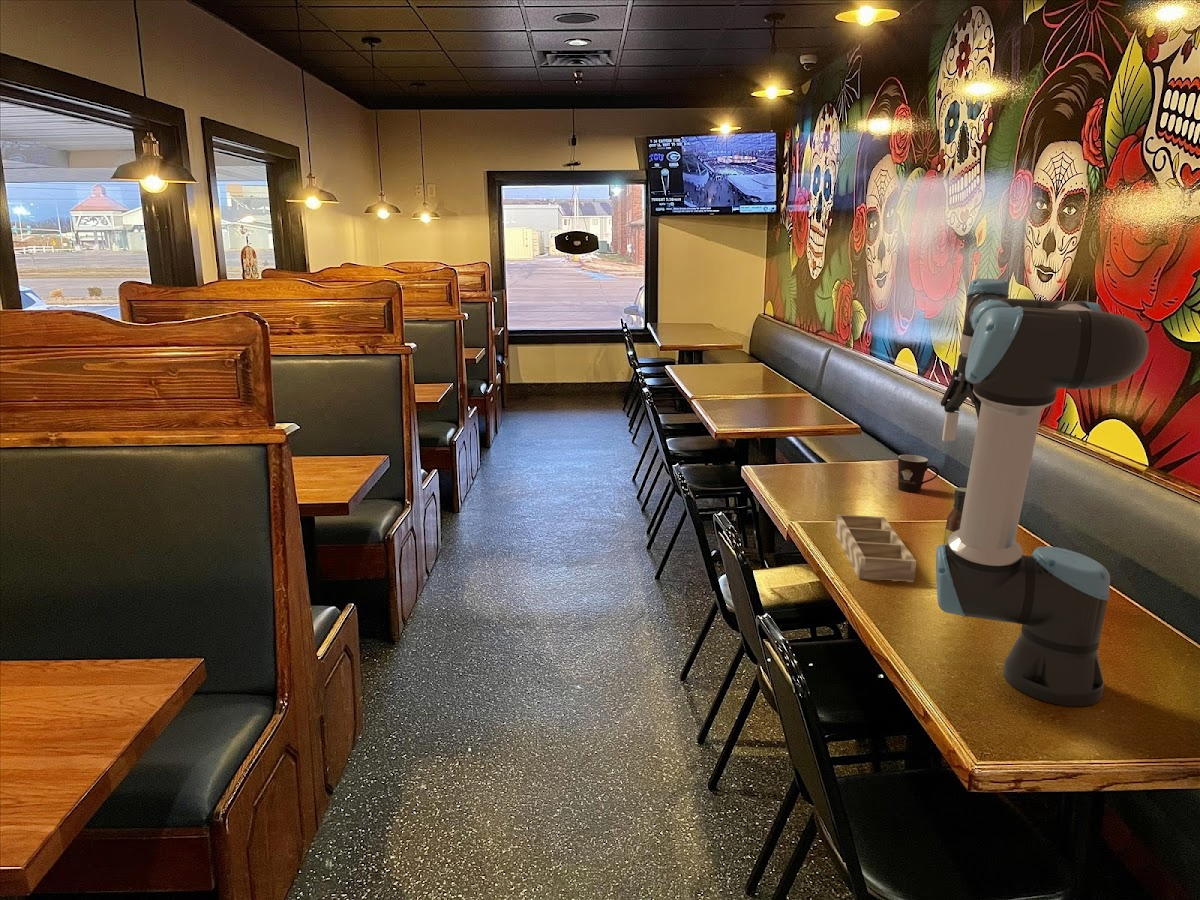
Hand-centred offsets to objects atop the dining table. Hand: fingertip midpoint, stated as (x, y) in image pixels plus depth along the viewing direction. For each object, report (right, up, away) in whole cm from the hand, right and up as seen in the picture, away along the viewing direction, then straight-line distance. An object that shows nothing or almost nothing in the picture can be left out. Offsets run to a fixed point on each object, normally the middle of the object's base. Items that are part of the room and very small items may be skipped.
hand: (963, 450), depth 182 cm
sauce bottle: (+3, -28, +11) cm, 30 cm away
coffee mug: (+17, -13, +75) cm, 78 cm away
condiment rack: (-14, -25, +20) cm, 35 cm away
